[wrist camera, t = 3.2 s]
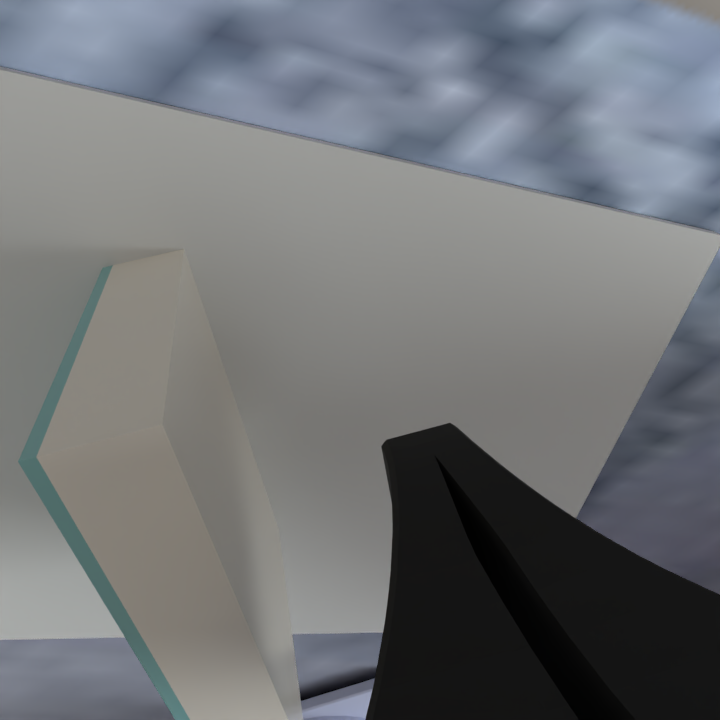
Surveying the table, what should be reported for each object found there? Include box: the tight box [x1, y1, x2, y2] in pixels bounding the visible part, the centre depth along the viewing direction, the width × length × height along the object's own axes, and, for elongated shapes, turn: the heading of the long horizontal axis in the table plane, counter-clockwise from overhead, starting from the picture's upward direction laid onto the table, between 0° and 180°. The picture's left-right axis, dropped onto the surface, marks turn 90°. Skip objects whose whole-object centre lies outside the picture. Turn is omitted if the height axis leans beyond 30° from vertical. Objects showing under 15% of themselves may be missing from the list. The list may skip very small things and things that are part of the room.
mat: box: [0, 66, 720, 640], centre depth 15 cm, size 20×14×1 cm
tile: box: [18, 249, 303, 720], centre depth 11 cm, size 8×2×6 cm, turn 9°
